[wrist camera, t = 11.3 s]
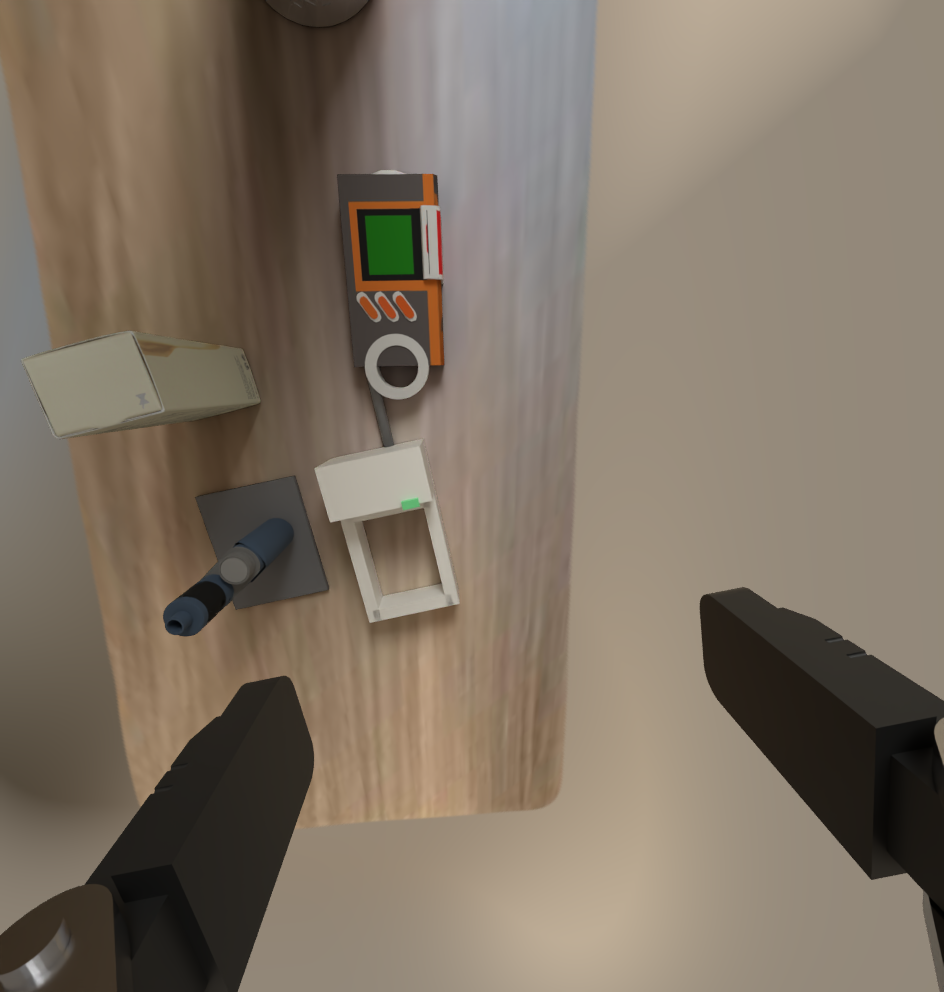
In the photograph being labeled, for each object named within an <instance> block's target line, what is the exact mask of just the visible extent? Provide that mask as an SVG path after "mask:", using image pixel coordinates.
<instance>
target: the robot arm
mask: <svg viewBox="0 0 944 992" xmlns="http://www.w3.org/2000/svg"><path fill="white" fill-rule="evenodd" d="M265 1H266V2H267V3H268V4H269V5H270V6H271V7H272V8H273V9H274V10H276V11H277V12H278V13H280V14H281V15H283V16H284V17H285V18H287V19H289V20H292V21H294V22H296V23H299V24H301V25H307V26H312V27H325V26H333V25H336V24H338V23H341V22H344V21H346V20H348V19H349V18H351V17H352V16H354V15H355V14H357V13H358V12H359V11H360V10H361V9H362V7H363V6H364V5H365V4H366V3H367V2H368V1H369V0H265ZM700 619H701V630H702V631H701V632H702V644H703V645H702V646H703V659H704V668H705V673H706V677H707V680H708V683H709V685H710V687H711V689H712V691H713V693H714V695H715V696H716V698H717V700H718V701H719V702H720V703H721V705H722V706H723V707H724V708H725V709H726V710H727V712H728V713H729V714H730V715H731V716H732V717H733V719H734V720H735V721H736V722H737V723H738V724H739V726H740V727H741V728H742V729H743V730H744V731H745V733H746V734H747V735H748V736H749V737H750V738H751V740H753V742H754V743H755V744H756V746H757V747H758V748H759V749H760V750H761V751H762V753H763V754H764V755H765V756H766V757H767V758H768V759H769V761H771V763H772V764H773V765H774V767H776V769H777V770H778V771H779V772H780V773H781V775H782V776H783V777H784V778H785V779H786V781H787V782H788V783H789V784H790V785H791V786H792V788H793V789H794V790H795V791H796V792H797V793H798V794H799V796H800V797H801V798H802V799H803V800H804V802H805V803H806V804H807V805H808V806H809V807H810V809H811V810H812V811H813V812H814V813H815V814H816V816H817V817H818V818H819V819H820V820H821V822H822V823H823V824H824V825H825V826H826V827H827V829H828V830H829V831H830V832H831V833H832V834H833V836H834V837H835V838H836V839H837V840H838V841H839V843H840V844H841V845H842V846H843V847H844V848H845V850H846V851H847V852H848V853H849V854H850V855H851V857H852V858H853V859H854V860H855V861H856V862H857V864H858V865H859V866H860V867H861V868H862V869H863V871H864V872H865V873H866V874H867V875H868V877H869V878H870V879H871V880H873V879H878V878H883V877H888V876H893V875H898V874H903V873H908V874H909V875H910V877H912V879H913V880H914V881H915V882H916V883H917V884H918V885H919V886H920V887H921V888H922V889H923V913H924V918H925V923H926V927H927V932H928V937H929V942H930V947H931V952H932V956H933V961H934V966H935V971H936V976H937V981H938V986H939V990H940V992H944V701H943V700H941V699H940V698H938V697H937V696H935V695H934V694H932V693H930V692H929V691H927V690H926V689H924V688H923V687H921V686H920V685H918V684H916V683H915V682H913V681H911V680H910V679H908V678H907V677H905V676H904V675H902V674H901V673H899V672H897V671H896V670H894V669H893V668H891V667H890V666H888V665H887V664H885V663H883V662H882V661H880V660H879V659H877V658H876V657H874V656H872V655H867V654H866V652H865V650H863V649H861V648H860V647H858V646H857V645H855V644H854V643H852V642H850V641H849V640H843V638H842V636H841V635H840V634H838V633H836V632H835V631H833V630H832V629H830V628H828V627H827V626H825V625H824V624H822V623H821V622H819V621H818V620H816V619H813V618H811V617H808V616H805V615H802V614H799V613H797V612H794V611H791V610H788V609H785V608H776V607H775V606H773V605H772V604H770V603H769V602H767V601H766V600H764V599H763V598H762V597H760V596H759V595H757V594H756V593H754V592H753V591H751V590H750V589H748V588H744V587H742V588H737V589H731V590H727V591H721V592H716V593H711V594H706V595H703V596H702V598H701V600H700ZM313 768H314V751H313V745H312V741H311V737H310V734H309V731H308V728H307V725H306V722H305V719H304V716H303V713H302V710H301V706H300V703H299V700H298V697H297V694H296V691H295V688H294V685H293V683H292V681H291V680H290V678H288V677H287V676H281V677H276V678H270V679H265V680H260V681H255V682H250V683H246V684H244V685H243V686H241V688H240V689H239V690H238V692H237V693H236V695H235V696H234V698H233V699H232V701H231V702H230V703H229V705H228V706H227V708H226V709H225V711H224V712H223V714H222V715H221V716H219V717H216V718H215V719H213V720H212V721H211V722H210V723H209V724H208V725H207V726H206V727H204V728H203V729H202V730H201V731H200V732H199V733H198V734H196V735H195V736H194V737H193V738H192V739H191V740H190V741H189V742H188V743H187V745H186V746H185V747H184V749H183V750H182V752H181V753H180V754H179V756H178V757H177V758H176V760H175V761H174V763H173V764H172V765H171V771H167V772H166V774H165V775H164V776H163V778H162V779H161V780H160V782H159V783H158V785H157V786H156V787H155V793H154V794H150V796H149V797H148V798H147V800H146V801H145V802H144V804H143V805H142V806H141V808H140V809H139V811H138V812H137V814H136V815H135V816H134V818H133V819H132V820H131V822H130V823H129V824H128V826H127V827H126V828H125V830H124V831H123V833H122V834H121V835H120V837H119V838H118V840H117V841H116V842H115V844H114V845H113V846H112V848H111V849H110V850H109V852H108V853H107V855H106V856H105V857H104V859H103V860H102V861H101V863H100V864H99V865H98V867H97V868H96V870H95V871H94V872H93V874H92V875H91V876H90V878H89V879H88V881H87V882H86V884H85V885H82V886H78V887H75V888H72V889H69V890H67V891H64V892H62V893H60V894H58V895H56V896H54V897H52V898H50V899H49V900H47V901H45V902H43V903H42V904H40V905H39V906H37V907H36V908H34V909H33V910H31V911H30V912H28V913H27V914H26V915H24V916H23V917H22V918H20V919H19V920H18V921H16V922H15V923H14V924H13V925H11V926H10V927H9V928H8V929H7V930H6V931H4V932H3V933H2V934H1V935H0V992H238V989H239V986H240V983H241V980H242V977H243V975H244V972H245V969H246V966H247V963H248V960H249V957H250V954H251V952H252V949H253V946H254V943H255V940H256V937H257V934H258V931H259V928H260V925H261V923H262V920H263V917H264V914H265V911H266V908H267V905H268V902H269V900H270V897H271V894H272V891H273V888H274V885H275V882H276V879H277V877H278V874H279V871H280V868H281V865H282V862H283V860H284V856H285V854H286V851H287V848H288V845H289V842H290V839H291V837H292V834H293V831H294V828H295V825H296V822H297V819H298V816H299V814H300V811H301V808H302V805H303V802H304V799H305V796H306V793H307V791H308V788H309V785H310V782H311V779H312V774H313Z"/></svg>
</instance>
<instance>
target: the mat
mask: <svg viewBox="0 0 944 992" xmlns="http://www.w3.org/2000/svg"><path fill="white" fill-rule="evenodd" d="M195 498H196V501H197V504H198V507H199V509H200V512H201V515H202V518H203V521H204V523H205V526H206V529H207V532H208V534H209V537H210V540H211V543H212V545H213V548H214V551H215V554H216V557H217V559H218V561H219V560H220V559H221V558H222V557H223V556H224V555H225V554H226V553H227V552H228V551H229V550H230V549H231V548H233V546H234V545H235V543H237V542H238V541H239V540H241V539H242V538H244V537H245V536H246V535H248V534H249V533H250V532H252V531H253V530H255V529H256V528H257V527H259V526H260V525H261V524H263V523H264V522H266V521H267V520H268V519H272V518H280V519H283V520H285V521H287V522H288V523H289V524H290V525H291V526H292V528H293V530H294V537H293V540H292V542H291V543H290V544H289V545H288V546H287V547H286V548H285V549H284V550H283V551H282V552H281V553H280V554H279V555H278V556H277V557H276V559H275V560H274V561H273V562H272V563H271V564H270V565H269V566H268V567H267V568H266V569H265V570H264V571H263V572H262V573H261V574H260V575H259V576H258V577H257V578H256V579H255V580H254V581H253V582H250V583H249V584H248V585H247V586H246V587H245V588H244V589H243V590H242V591H241V592H239V593H238V595H237V596H236V597H235V598H234V599H233V600H232V601H233V604H234V606H235V609H241V608H246V607H251V606H255V605H260V604H265V603H269V602H274V601H279V600H283V599H288V598H293V597H297V596H302V595H307V594H311V593H316V592H321V591H325V590H328V589H329V585H328V582H327V579H326V576H325V572H324V569H323V566H322V562H321V559H320V556H319V553H318V549H317V546H316V543H315V539H314V536H313V533H312V530H311V526H310V523H309V520H308V516H307V513H306V510H305V507H304V503H303V500H302V497H301V493H300V490H299V487H298V484H297V480H296V477H295V476H291V477H286V478H281V479H277V480H272V481H267V482H263V483H258V484H253V485H249V486H244V487H239V488H234V489H230V490H225V491H220V492H216V493H211V494H206V495H202V496H197V497H195Z"/></svg>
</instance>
